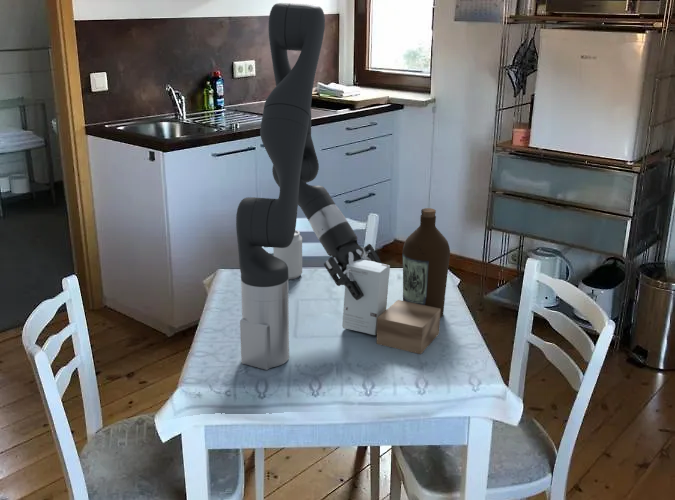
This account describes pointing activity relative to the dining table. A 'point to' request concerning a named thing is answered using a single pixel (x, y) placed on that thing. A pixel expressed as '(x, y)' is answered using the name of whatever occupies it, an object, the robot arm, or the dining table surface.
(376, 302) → the skincare box
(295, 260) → the can
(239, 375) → the dining table surface
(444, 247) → the olive oil
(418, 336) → the walnut block
